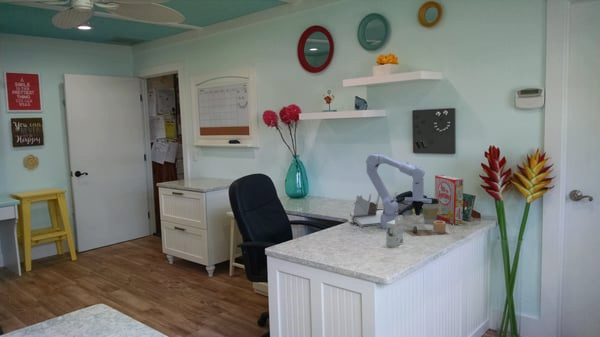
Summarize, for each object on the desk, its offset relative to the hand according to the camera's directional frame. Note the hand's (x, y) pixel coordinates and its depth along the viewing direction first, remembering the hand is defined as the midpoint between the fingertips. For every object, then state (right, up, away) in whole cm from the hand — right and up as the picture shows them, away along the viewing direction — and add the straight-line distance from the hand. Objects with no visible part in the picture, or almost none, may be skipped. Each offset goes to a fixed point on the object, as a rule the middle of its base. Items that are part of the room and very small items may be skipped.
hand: (417, 215), depth 243 cm
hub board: (+3, -10, -5) cm, 12 cm away
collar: (+10, -8, -4) cm, 14 cm away
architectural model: (-18, -8, +26) cm, 33 cm away
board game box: (+25, -7, +26) cm, 37 cm away
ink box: (-18, -12, -24) cm, 33 cm away
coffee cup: (+12, -8, +18) cm, 23 cm away
